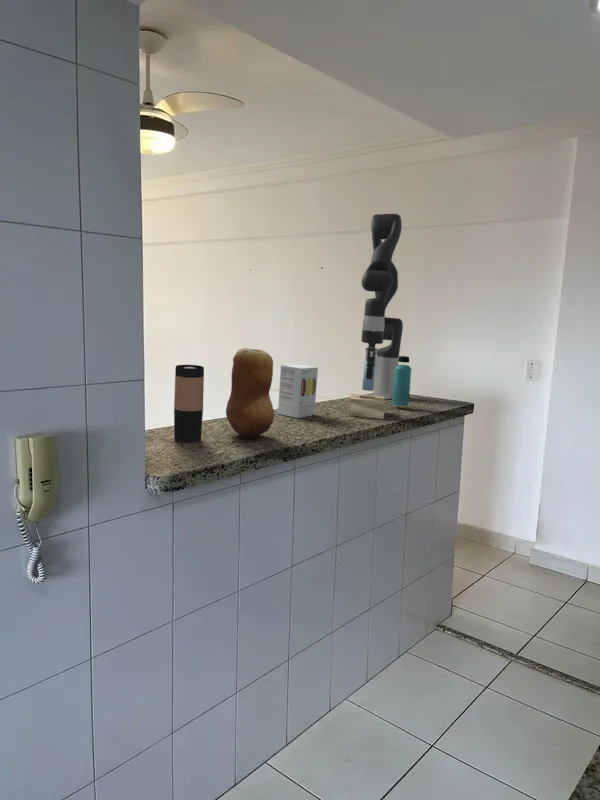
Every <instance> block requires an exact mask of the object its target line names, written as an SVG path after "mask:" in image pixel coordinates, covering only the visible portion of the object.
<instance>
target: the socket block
mask: <svg viewBox="0 0 600 800" xmlns="http://www.w3.org/2000/svg"><path fill="white" fill-rule="evenodd" d="M385 408H386V399H384V396H377V395H373V394H362V393H350V400H349V410H350V411H348V412H349V414H348V416H349V417H355V416H358V417H357V418H371V419H381V420H382V419H383V420H384V419H385Z"/></svg>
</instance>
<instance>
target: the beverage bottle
mask: <svg viewBox="0 0 600 800" xmlns="http://www.w3.org/2000/svg"><path fill="white" fill-rule="evenodd" d="M398 363H410V356H405V355H399V360H398ZM411 377H412V368H411V366H410V365H407V364H398V365H397V366H396V367H395V375H394V384H393V392H392V393H393V395H392V396H393V398H392V399H391V404H392V405H394V406H400V407H408V405H409V403H410V402H409V401H410V393H411V392H410V391H411V379H412V378H411Z"/></svg>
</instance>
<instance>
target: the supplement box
mask: <svg viewBox="0 0 600 800" xmlns="http://www.w3.org/2000/svg"><path fill="white" fill-rule="evenodd" d="M318 370H319V367H318V366H312V365H305V364H299V363H298V364H297V363H296V364H281V365H280V372H279V373H280V374H279V375H280V376H279V388H278V391H279V392H278V402H277V403H278V407H277V414H279V415H283V416H287V417H291V418H294V419H301V418H306V417H307V416H308V417H312V415H314V416H315V410H316V397H317V385H318V384H317V383H318Z"/></svg>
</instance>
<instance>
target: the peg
mask: <svg viewBox="0 0 600 800" xmlns="http://www.w3.org/2000/svg"><path fill="white" fill-rule="evenodd" d="M367 358H368V357H367ZM363 362H364V364H363V365H364V366H363V374H362V387H361V388H362V389H361V390H362V391H369V392H373V391H374V380H375V368H376V361H375V362H374V369H373V377H372V379H366V372H367V367H366V365H367V362H366V355H364V361H363ZM368 364H373V362H369V363H368Z"/></svg>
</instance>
